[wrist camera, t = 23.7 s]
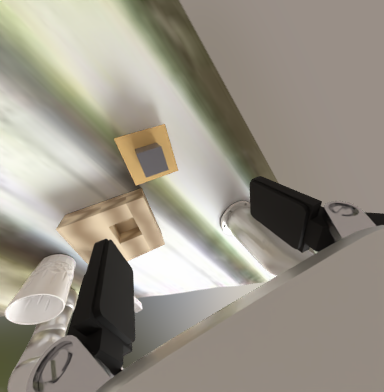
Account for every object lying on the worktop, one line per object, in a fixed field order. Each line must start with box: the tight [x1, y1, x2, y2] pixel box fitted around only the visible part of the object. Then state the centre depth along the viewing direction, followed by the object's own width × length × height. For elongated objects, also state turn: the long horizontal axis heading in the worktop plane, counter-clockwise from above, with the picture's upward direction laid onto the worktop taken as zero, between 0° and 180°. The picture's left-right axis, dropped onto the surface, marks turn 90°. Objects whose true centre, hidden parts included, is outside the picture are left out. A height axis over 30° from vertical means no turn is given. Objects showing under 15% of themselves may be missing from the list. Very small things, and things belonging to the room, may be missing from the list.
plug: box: [114, 124, 178, 185], centre depth 28 cm, size 9×9×9 cm
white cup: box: [5, 254, 76, 325], centre depth 31 cm, size 8×8×10 cm
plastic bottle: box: [8, 289, 78, 392], centre depth 30 cm, size 6×7×20 cm
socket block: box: [56, 188, 165, 264], centre depth 34 cm, size 16×14×5 cm
